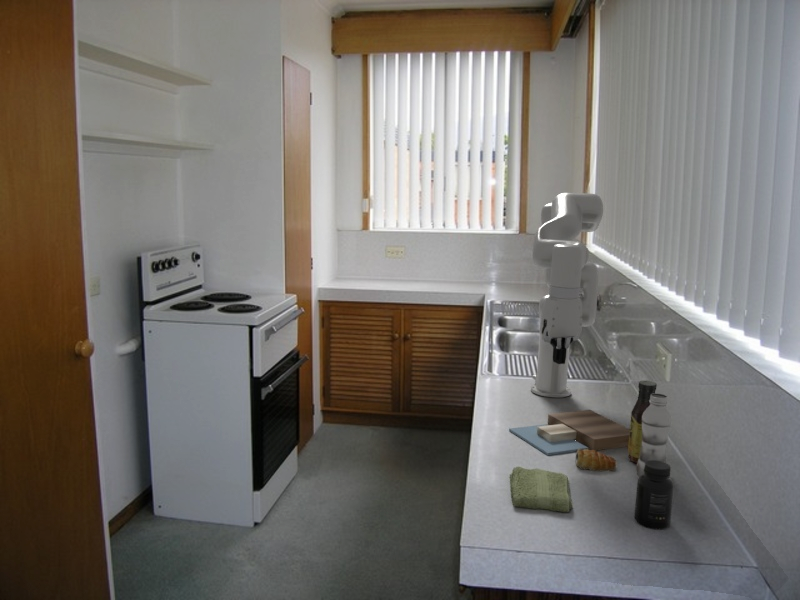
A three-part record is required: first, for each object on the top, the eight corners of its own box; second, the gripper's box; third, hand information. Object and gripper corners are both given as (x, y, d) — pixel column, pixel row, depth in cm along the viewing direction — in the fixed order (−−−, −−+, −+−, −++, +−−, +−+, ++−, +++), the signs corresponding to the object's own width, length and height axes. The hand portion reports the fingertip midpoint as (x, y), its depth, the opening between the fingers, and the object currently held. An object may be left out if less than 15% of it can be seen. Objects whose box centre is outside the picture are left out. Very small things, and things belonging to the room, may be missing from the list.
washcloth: (567, 481, 160) (568, 467, 159) (573, 516, 143) (574, 501, 142) (509, 475, 162) (510, 461, 161) (507, 509, 145) (508, 494, 144)
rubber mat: (508, 430, 190) (509, 428, 190) (546, 426, 194) (546, 424, 194) (547, 455, 173) (547, 453, 173) (587, 449, 178) (587, 447, 178)
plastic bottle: (629, 479, 161) (638, 395, 157) (643, 472, 165) (652, 389, 162) (656, 489, 156) (665, 402, 153) (670, 481, 161) (679, 396, 158)
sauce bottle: (633, 453, 177) (640, 376, 173) (658, 460, 173) (666, 382, 169) (622, 461, 172) (630, 381, 168) (648, 468, 168) (656, 387, 164)
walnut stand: (547, 424, 196) (548, 414, 195) (589, 419, 201) (589, 409, 201) (593, 450, 178) (594, 439, 177) (637, 444, 183) (638, 433, 183)
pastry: (613, 463, 171) (615, 448, 170) (617, 474, 164) (618, 459, 163) (573, 459, 172) (575, 444, 172) (575, 470, 166) (577, 455, 165)
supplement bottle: (676, 522, 141) (682, 465, 139) (660, 533, 136) (666, 474, 134) (643, 510, 146) (649, 455, 144) (627, 520, 141) (633, 463, 139)
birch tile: (536, 434, 186) (537, 426, 186) (562, 430, 189) (562, 423, 189) (550, 442, 181) (550, 434, 180) (575, 438, 184) (576, 431, 184)
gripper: (579, 289, 186) (574, 356, 189) (530, 291, 180) (526, 360, 184) (597, 294, 179) (591, 364, 183) (547, 296, 174) (542, 368, 177)
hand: (558, 362), depth 183 cm, fingers closed
